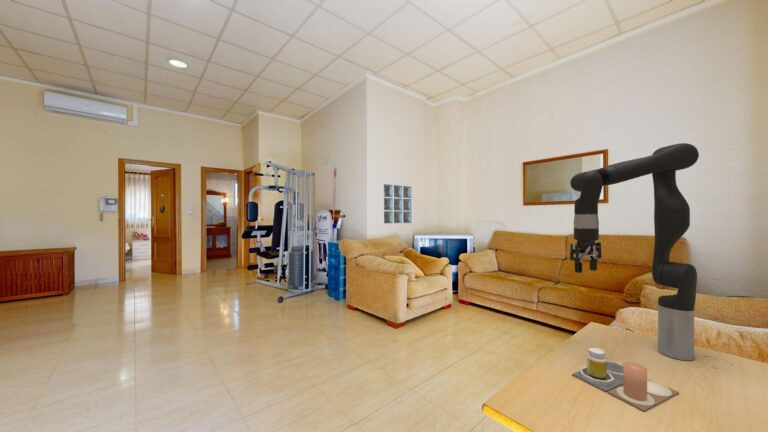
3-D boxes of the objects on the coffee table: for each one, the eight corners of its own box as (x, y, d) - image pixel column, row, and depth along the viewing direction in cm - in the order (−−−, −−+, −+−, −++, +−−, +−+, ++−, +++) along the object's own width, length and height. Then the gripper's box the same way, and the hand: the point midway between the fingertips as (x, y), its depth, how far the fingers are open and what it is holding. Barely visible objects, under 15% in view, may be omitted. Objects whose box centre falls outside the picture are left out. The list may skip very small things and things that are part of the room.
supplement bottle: (609, 382, 87) (609, 355, 87) (592, 381, 88) (592, 353, 88) (601, 374, 92) (601, 347, 91) (584, 372, 93) (584, 346, 92)
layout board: (606, 362, 99) (606, 337, 99) (678, 393, 82) (679, 362, 82) (572, 375, 92) (572, 347, 92) (644, 412, 75) (644, 378, 75)
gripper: (587, 225, 111) (587, 267, 112) (562, 227, 106) (563, 271, 106) (609, 226, 105) (609, 271, 105) (584, 228, 99) (584, 275, 99)
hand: (586, 271), depth 105 cm, fingers open, 8 cm apart
